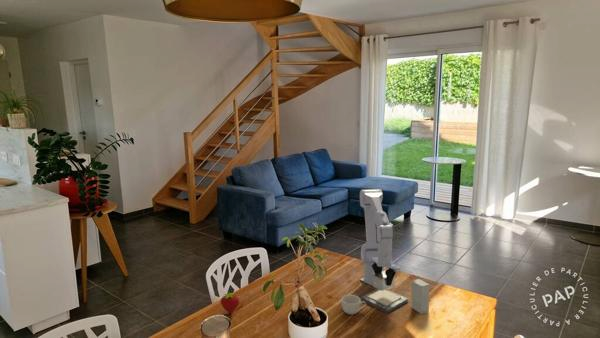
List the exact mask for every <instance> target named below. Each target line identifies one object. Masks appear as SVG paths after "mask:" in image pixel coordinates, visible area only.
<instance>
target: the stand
mask: <svg viewBox="0 0 600 338" xmlns="http://www.w3.org/2000/svg"><path fill="white" fill-rule="evenodd" d="M360 299H361V301H364V302H365V303H366V304H367V305H370V306H371V307H374V308H375V309H378V310H380V311H382V312H384V313H386V314H389V313H391V312H392V311H394V310H396V309H398V308H399V307H401V306H403V305H405V304H406V303H408V302H409V298H408V297H406V296H403V295H401V294H399V293H396V292H394V291H392V290H390V289H388V288H387V289H385V290H383V291H381V290H379V289H377V288H375V290H372V291H371V292H369V293H366V294H365V295H363V296H361V297H360Z"/></svg>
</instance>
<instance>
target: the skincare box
mask: <svg viewBox="0 0 600 338" xmlns="http://www.w3.org/2000/svg"><path fill="white" fill-rule="evenodd" d="M411 309H413V310H414V311H416V312H417V313H419V314H420V315H423V314H427V313H429V312H430V284H429V283H427V282H425V281H424V280H422V279H420V278H418V279H414V280H412V281H411Z"/></svg>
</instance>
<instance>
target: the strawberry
mask: <svg viewBox="0 0 600 338" xmlns="http://www.w3.org/2000/svg"><path fill="white" fill-rule="evenodd" d="M223 295H224V296H222V298H221V299H220V304H221V305H220V306H222V308H223V309H224V311H226V312H227V313H228V314H230V313H231V314H233V312H234V311H235V310H236V309H237V307H238V306H239V305H240V304H239V303H240V299H239V297H238V296H236V294H234V292H233V293H231V292H228V293H227V294H226V293H223Z"/></svg>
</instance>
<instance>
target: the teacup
mask: <svg viewBox="0 0 600 338" xmlns="http://www.w3.org/2000/svg"><path fill="white" fill-rule="evenodd" d="M363 303H364V305H363V306H361V305H362V304H363ZM366 307H367V303H366V302H364V301H361V297H359V296H358V295H354V294H345V295H343V296H342V297H341V309H342V310H343V312H345V314H348V315H356V314H357V313H358V312H359V311H360V310H361V309H363V308H366Z"/></svg>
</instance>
